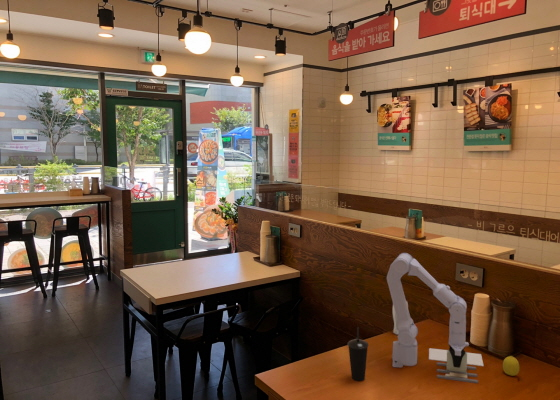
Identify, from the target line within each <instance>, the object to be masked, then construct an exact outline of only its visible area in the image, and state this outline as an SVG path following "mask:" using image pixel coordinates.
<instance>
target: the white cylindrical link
mask: <svg viewBox="0 0 560 400" xmlns="http://www.w3.org/2000/svg"><path fill="white" fill-rule="evenodd" d="M406 303H407V306H408V307H409V304H408V303H409V302H408V300H406ZM392 320H393V323H394V325H393V331H392V333H393V334H394V335H396V336H398V320H397V316H396V313H395V309H394V305H393V304H392Z"/></svg>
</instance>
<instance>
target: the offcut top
mask: <svg viewBox="0 0 560 400" xmlns="http://www.w3.org/2000/svg"><path fill="white" fill-rule="evenodd" d="M450 376H451V377H458V378H466V379H469V378H468V377H469V376H467V374H459V373H451V372H450Z"/></svg>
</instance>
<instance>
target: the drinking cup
mask: <svg viewBox="0 0 560 400" xmlns="http://www.w3.org/2000/svg"><path fill="white" fill-rule="evenodd" d="M347 347H348V354H349V364H350V365H349V366H350V372H351V373H350V374H351V379H352V380H353V381H355V382H363V381H365V379H366V369H367V360H368V358H367V357H368V348H369V343H368V341H366V340H364V339H362V338H361V339H360V327H359V326H357V327H356V338H354V339H351V340H349V341H348V342H347Z"/></svg>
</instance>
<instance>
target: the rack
mask: <svg viewBox="0 0 560 400" xmlns="http://www.w3.org/2000/svg"><path fill="white" fill-rule="evenodd" d="M436 366H439V367H447V362H440V361H438V362H436ZM467 370H471V371H477V367H476V366H472V365H471V366H470V365H467ZM450 372H451V373H459V374H467V377H472V378H473V379H471V378H468V379H466V378H458V377H451V376H445V375H441V374H450ZM436 373H441V374H436V379H444V380H449V381H450V380H451V381H458V382H464V383H470V384H471V383H472V384H479V380H478V379H474V378H478V374H477V373H471V372H467V373H465V372H457V371H449V370H447V369H441V368H437V369H436Z"/></svg>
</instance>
